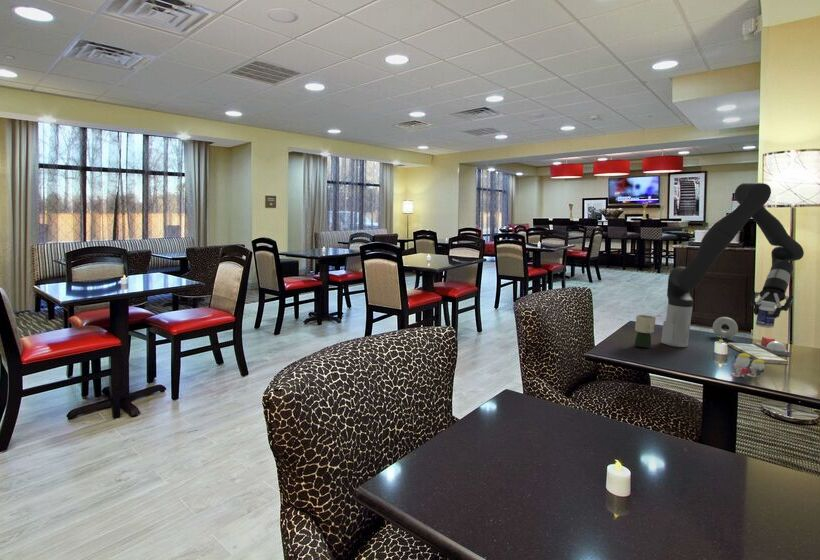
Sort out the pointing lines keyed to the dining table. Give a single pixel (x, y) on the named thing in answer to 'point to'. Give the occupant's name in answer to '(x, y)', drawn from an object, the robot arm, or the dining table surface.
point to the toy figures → (744, 361)
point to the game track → (757, 353)
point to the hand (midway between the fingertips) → (765, 315)
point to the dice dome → (772, 346)
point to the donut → (728, 321)
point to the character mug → (644, 330)
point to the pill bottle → (766, 314)
